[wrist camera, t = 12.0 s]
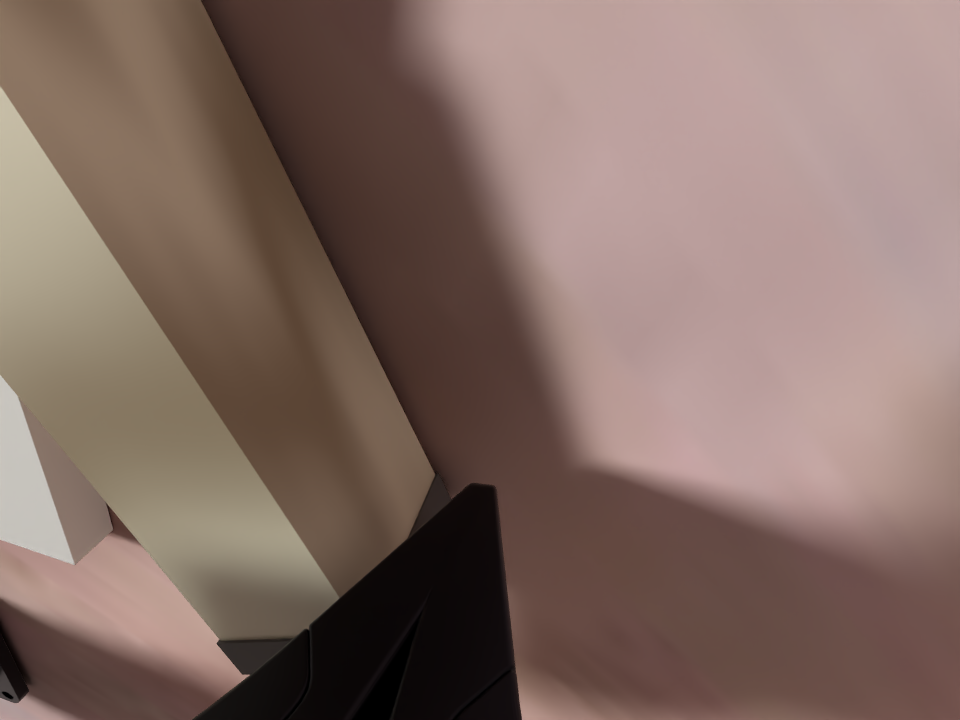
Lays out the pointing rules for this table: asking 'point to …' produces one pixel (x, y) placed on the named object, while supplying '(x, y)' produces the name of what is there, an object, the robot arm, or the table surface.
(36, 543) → the board
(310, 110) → the table surface
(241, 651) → the leg
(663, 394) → the table surface
